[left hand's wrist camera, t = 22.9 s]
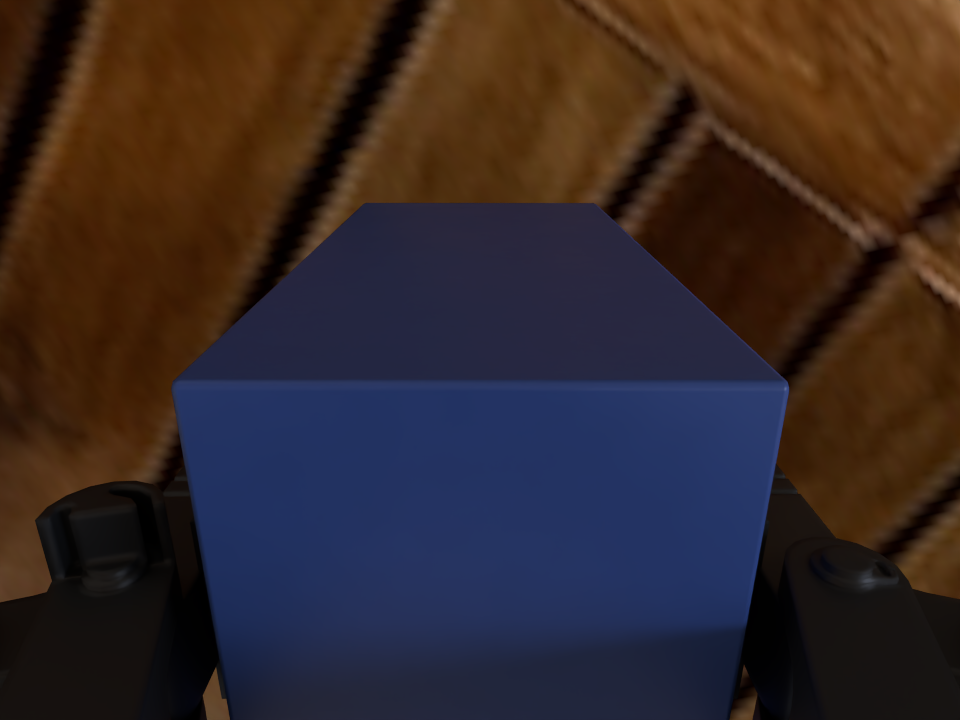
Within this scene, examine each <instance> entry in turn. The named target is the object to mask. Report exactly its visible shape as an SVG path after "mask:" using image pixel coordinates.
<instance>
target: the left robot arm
mask: <svg viewBox="0 0 960 720" xmlns="http://www.w3.org/2000/svg"><path fill="white" fill-rule="evenodd" d="M35 522H36V525H37V529H38V533H39V536H40V540H41V543H42V547H43V550H44V554H45V558H46V561H47V565H48V568H49V572H50V575H51V579H52V582H51V584H50V587H49V589H48V591H47V592H45V593H42V594H38V595H34V596H30V597H25V598H20V599H15V600H10V601H5V602H0V720H207V717H206V710H205V705H204V700H203V694H204V691H205V689H206V687H207V685H208V683H209V681H210V678H211V676H212V674H213V672H214V670H215V668H216V669H217V674H218V680H219V685H220V691H221V696H222V699H226V693H225V688H224V682H223V676H222V671H221V665H220V660H219V654H218V648H217V643H216V637H215V631H214V626H213V620H212V615H211V609H210V603H209V598H208V592H207V587H206V581H205V575H204V570H203V564H202V558H201V553H200V547H199V542H198V536H197V530H196V525H195V519H194V514H193V508H192V502H191V497H190V491H189V486H188V480H187V474H186V469H185V465H184V467H183V468H182V469H181V470H180V472H179V473H178V474H177V475H176V477H175V481H172V482H171V483H170V484H169V485H168V487H167V488H166V489H165V490H164V492H162V491H161V490H159V489H158V488H157V487H156V486H154V485H153V484H149V483H144V482H139V481H116V482H110V483H105V484H100V485H95V486H91V487H88V488H85V489H82V490H80V491H77V492H74V493H72V494H69V495H67V496H65V497H63V498H62V499H60V500H58V501H57V502H55V503H53V504H52V505H50V506H48V507H47V508H46V509H45V510H44V511H43V512H42V513H41V515H40V516H39V517H38V518H37V519H36V520H35ZM744 665H745V667H746V669H747V672H748V674H749V676H750V678H751V680H752V682H753V685H754V687H755V689H756V691H757V693H758V695H757V700H756V705H755V710H754V715H753V720H960V599H955V598H950V597H945V596H940V595H935V594H930V593H926V592H922V591H918V590H914V589H912V587H911V585H910V583H909V581H908V580H907V578H906V577H905V576H904V574H903V573H902V572H901V571H900V569H899V568H898V567H897V566H896V565H895V564H893V563H892V562H891V561H889V560H888V559H886V558H885V557H884V556H882V555H881V554H879V553H877V552H875V551H873V550H871V549H868V548H866V547H864V546H862V545H859V544H857V543H853V542H849V541H845V540H841V539H837V538H835V536H834V535H833V534H832V533H831V531H830V530H829V529H828V528H827V526H826V525H825V524H824V523H823V522H822V520H821V519H820V518H819V517H818V515H817V514H816V513H815V512H814V510H813V509H812V508H811V507H810V505H809V504H808V503H807V502H806V500H805V499H804V498H803V497H802V495H801V494H797V489H796V488H795V487H794V486H793V484H792V483H791V482H790V481H789V479H785V474H784V473H783V472H782V471H781V469H780V468H779V467H778V466H777V464H776V465H775V470H774V476H773V481H772V487H771V492H770V498H769V503H768V509H767V514H766V520H765V525H764V531H763V537H762V542H761V548H760V553H759V559H758V564H757V570H756V575H755V581H754V586H753V592H752V597H751V603H750V608H749V614H748V619H747V625H746V630H745V636H744V641H743V647H742V652H741V658H740V663H739V669H738V675H737V680H736V686H735V691H734V697H733V699H738V694H739V688H740V683H741V677H742V672H743V666H744Z"/></svg>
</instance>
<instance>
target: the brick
mask: <svg viewBox="0 0 960 720" xmlns="http://www.w3.org/2000/svg"><path fill="white" fill-rule="evenodd" d="M788 393H789V387H788V383H787V381H786V380H785V379H784V378H783V377H782V376H781V375H779V374H778V373H777V372H776V371H775V370H774V369H773V368H772V367H771V366H770V365H769V364H768V363H766V362H765V361H764V360H763V359H762V358H761V357H760V356H759V355H758V354H757V353H756V352H755V351H754V350H752V349H751V348H750V347H749V346H748V345H747V344H746V343H745V342H744V341H743V340H742V339H741V338H740V337H738V336H737V335H736V334H735V333H734V332H733V331H732V330H731V329H730V328H729V327H728V326H727V325H726V324H724V323H723V322H722V321H721V320H720V319H719V318H718V317H717V316H716V315H715V314H714V313H713V312H712V311H710V310H709V309H708V308H707V307H706V306H705V305H704V304H703V303H702V302H701V301H700V300H699V299H697V298H696V297H695V296H694V295H693V294H692V293H691V292H690V291H689V290H688V289H687V288H686V287H685V286H683V285H682V284H681V283H680V282H679V281H678V280H677V279H676V278H675V277H674V276H673V275H672V274H671V273H669V272H668V271H667V270H666V269H665V268H664V267H663V266H662V265H661V264H660V263H659V262H658V261H657V260H655V259H654V258H653V257H652V256H651V255H650V254H649V253H648V252H647V251H646V250H645V249H644V248H642V247H641V246H640V245H639V244H638V243H637V242H636V241H635V240H634V239H633V238H632V237H631V236H630V235H628V234H627V233H626V232H625V231H624V230H623V229H622V228H621V227H620V226H619V225H618V224H617V223H616V222H614V221H613V220H612V219H611V218H610V217H609V216H608V215H607V214H606V213H605V212H604V211H603V210H602V209H600V208H599V207H598V206H597V205H596V204H594V203H365V204H363V205H362V206H361V207H360V208H359V209H358V210H357V211H356V212H355V213H354V214H353V215H351V216H350V217H349V218H348V219H347V220H346V221H345V222H344V223H343V224H342V225H341V226H340V227H339V228H337V229H336V230H335V231H334V232H333V233H332V234H331V235H330V236H329V237H328V238H327V239H326V240H325V241H323V242H322V243H321V244H320V245H319V246H318V247H317V248H316V249H315V250H314V251H313V252H312V253H311V254H309V255H308V256H307V257H306V258H305V259H304V260H303V261H302V262H301V263H300V264H299V265H298V266H297V267H296V268H294V269H293V270H292V271H291V272H290V273H289V274H288V275H287V276H286V277H285V278H284V279H283V280H282V281H280V282H279V283H278V284H277V285H276V286H275V287H274V288H273V289H272V290H271V291H270V292H269V293H268V294H266V295H265V296H264V297H263V298H262V299H261V300H260V301H259V302H258V303H257V304H256V305H255V306H254V307H252V308H251V309H250V310H249V311H248V312H247V313H246V314H245V315H244V316H243V317H242V318H241V319H240V320H238V321H237V322H236V323H235V324H234V325H233V326H232V327H231V328H230V329H229V330H228V331H227V332H226V333H224V334H223V335H222V336H221V337H220V338H219V339H218V340H217V341H216V342H215V343H214V344H213V345H212V346H211V347H209V348H208V349H207V350H206V351H205V352H204V353H203V354H202V355H201V356H200V357H199V358H198V359H197V360H195V361H194V362H193V363H192V364H191V365H190V366H189V367H188V368H187V369H186V370H185V371H184V372H183V373H181V374H180V375H179V376H178V377H177V378H176V379H175V380H174V381H173V384H172V396H173V401H174V407H175V413H176V418H177V424H178V429H179V435H180V441H181V446H182V452H183V457H184V463H185V469H186V474H187V480H188V486H189V491H190V497H191V502H192V508H193V514H194V519H195V525H196V530H197V536H198V542H199V547H200V553H201V558H202V564H203V570H204V575H205V581H206V587H207V592H208V598H209V603H210V609H211V615H212V620H213V626H214V631H215V637H216V643H217V648H218V654H219V660H220V665H221V671H222V676H223V682H224V688H225V693H226V699H227V704H228V710H229V716H230V720H729V719H730V713H731V708H732V702H733V697H734V691H735V686H736V680H737V675H738V669H739V663H740V658H741V652H742V647H743V641H744V636H745V630H746V625H747V619H748V614H749V608H750V603H751V597H752V592H753V586H754V581H755V575H756V570H757V564H758V559H759V553H760V548H761V542H762V537H763V531H764V525H765V520H766V514H767V509H768V503H769V498H770V492H771V487H772V481H773V476H774V470H775V465H776V459H777V454H778V448H779V443H780V437H781V432H782V426H783V421H784V415H785V410H786V404H787V399H788Z"/></svg>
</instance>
